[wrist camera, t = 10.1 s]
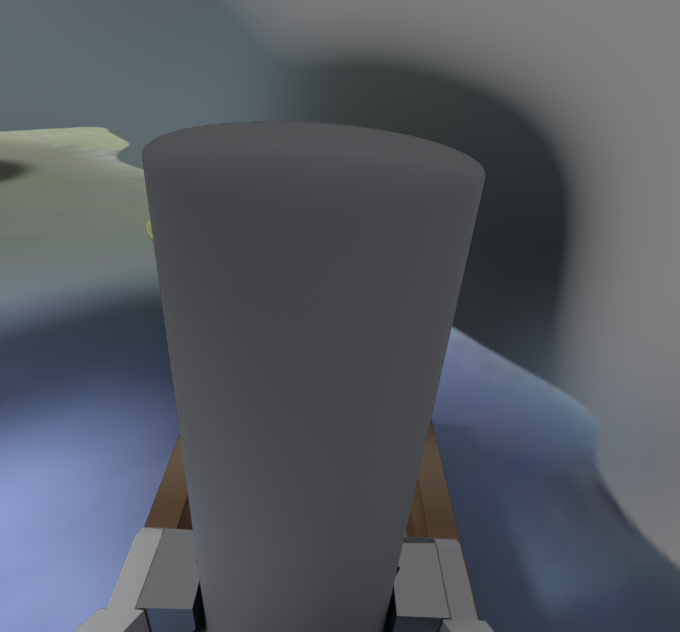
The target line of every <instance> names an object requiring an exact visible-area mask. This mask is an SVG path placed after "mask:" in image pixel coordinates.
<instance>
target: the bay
mask: <svg viewBox="0 0 680 632" xmlns="http://www.w3.org/2000/svg"><path fill="white" fill-rule="evenodd" d="M144 527H153V528H169V529H190V530H193V527H192V520H191V512H190V505H189V498H188V490H187V483H186V476H185V468H184V461H183V454H182V447H181V439H180V434H179V437H178V440H177V442H176V445H175V448H174V450H173V453H172V455H171V458H170V461H169V463H168V466H167V469H166V471H165V474H164V476H163V479H162V482H161V484H160V487H159V490H158V492H157V495H156V497H155V500H154V503H153V505H152V508H151V511H150V513H149V516H148V518H147V521H146V524H145V526H144ZM404 537H417V538H432V539H456V540H457V541H458V543H459V544H460V547H461V542H460V538H459V534H458V530H457V525H456V521H455V517H454V513H453V508H452V504H451V500H450V496H449V492H448V487H447V483H446V479H445V475H444V470H443V466H442V462H441V458H440V453H439V449H438V445H437V441H436V436H435V432H434V428H433V424H432V419H431V421H430V425H429V430H428V434H427V438H426V443H425V447H424V452H423V456H422V461H421V465H420V470H419V474H418V479H417V483H416V487H415V492H414V496H413V501H412V505H411V510H410V514H409V519H408V523H407V528H406V532H405V536H404ZM461 551H462V547H461ZM462 555H463V551H462ZM463 559H464V555H463ZM464 563H465V559H464ZM465 567H466V564H465ZM466 572H467V568H466ZM467 576H468V572H467ZM468 580H469V576H468ZM469 584H470V581H469ZM470 588H471V585H470ZM471 593H472V589H471ZM472 597H473V593H472ZM473 601H474V598H473ZM474 605H475V602H474ZM475 609H476V606H475ZM476 614H477V610H476ZM477 618H478V615H477ZM478 620H479V619H478Z"/></svg>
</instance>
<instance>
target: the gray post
mask: <svg viewBox="0 0 680 632" xmlns="http://www.w3.org/2000/svg"><path fill="white" fill-rule="evenodd" d="M142 161H143V168H144V176H145V183H146V190H147V197H148V205H149V212H150V219H151V227H152V234H153V241H154V249H155V256H156V263H157V271H158V278H159V285H160V293H161V300H162V307H163V315H164V322H165V329H166V337H167V344H168V351H169V359H170V366H171V373H172V381H173V388H174V395H175V403H176V410H177V417H178V425H179V432H180V439H181V447H182V454H183V461H184V468H185V476H186V483H187V490H188V498H189V505H190V512H191V520H192V527H193V534H194V542H195V549H196V556H197V564H198V571H199V578H200V586H201V593H202V600H203V608H204V615H205V622H206V632H383V630H384V626H385V621H386V617H387V612H388V608H389V603H390V599H391V594H392V590H393V585H394V581H395V577H396V572H397V568H398V563H399V559H400V554H401V550H402V545H403V541H404V536H405V532H406V528H407V523H408V519H409V514H410V510H411V505H412V501H413V496H414V492H415V487H416V483H417V479H418V474H419V470H420V465H421V461H422V456H423V452H424V447H425V443H426V438H427V434H428V430H429V425H430V421H431V416H432V412H433V407H434V403H435V398H436V394H437V389H438V385H439V381H440V376H441V372H442V367H443V363H444V358H445V354H446V349H447V345H448V340H449V336H450V332H451V327H452V323H453V318H454V313H455V309H456V305H457V300H458V295H459V291H460V287H461V282H462V278H463V273H464V269H465V265H466V260H467V256H468V251H469V247H470V242H471V237H472V233H473V229H474V224H475V220H476V216H477V211H478V207H479V202H480V198H481V193H482V189H483V184H484V180H485V172H484V169H483V168H482V166H481V165H480V164H479V163H478V162H476V161H475V160H474V159H472V158H471V157H469V156H467V155H466V154H464V153H461V152H459V151H457V150H455V149H453V148H450V147H447V146H445V145H441V144H439V143H435V142H432V141H429V140H425V139H421V138H418V137H413V136H408V135H404V134H400V133H394V132H389V131H384V130H377V129H370V128H364V127H356V126H348V125H339V124H327V123H312V122H292V121H253V122H234V123H220V124H212V125H204V126H197V127H191V128H187V129H182V130H178V131H174V132H171V133H167V134H165V135H162V136H159V137H158V138H156V139H154V140H152V141H150V142H149V143H148V144H147V145H145V147H144V149H143V150H142Z"/></svg>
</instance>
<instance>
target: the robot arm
mask: <svg viewBox="0 0 680 632" xmlns="http://www.w3.org/2000/svg"><path fill="white" fill-rule="evenodd" d="M75 632H206V622H205V615H204V608H203V600H202V593H201V586H200V578H199V571H198V564H197V556H196V549H195V542H194V534H193V530H190V529H169V528H153V527H141V528H140V530H139V531H138V533H137V534H136V536H135V538H134V541H133V543H132V546H131V548H130V551H129V554H128V556H127V559H126V561H125V564H124V566H123V569H122V571H121V574H120V576H119V579H118V581H117V584H116V587H115V589H114V592H113V594H112V597H111V599H110V602H109V604H108V607H107V608H99V609H98V610H97V611H96V612H95V613H94V614H93V615H92V616H91V617H89V618H88V619H87V620H86V621H85V622H84V623H83V624H82V625H81V626H80V627H79V628H78V629H77V630H76V631H75ZM383 632H494V631H493V630H492V628H491V627H490V626H489V625H488V623H487V622H486V621H482V620H478V618H477V614H476V609H475V605H474V601H473V597H472V593H471V588H470V584H469V580H468V576H467V572H466V567H465V563H464V559H463V555H462V551H461V547H460V544H459V543H458V541H457V540H456V539H432V538H417V537H404V541H403V545H402V550H401V554H400V559H399V563H398V568H397V572H396V577H395V581H394V585H393V590H392V594H391V599H390V603H389V608H388V612H387V617H386V621H385V626H384V630H383Z"/></svg>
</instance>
